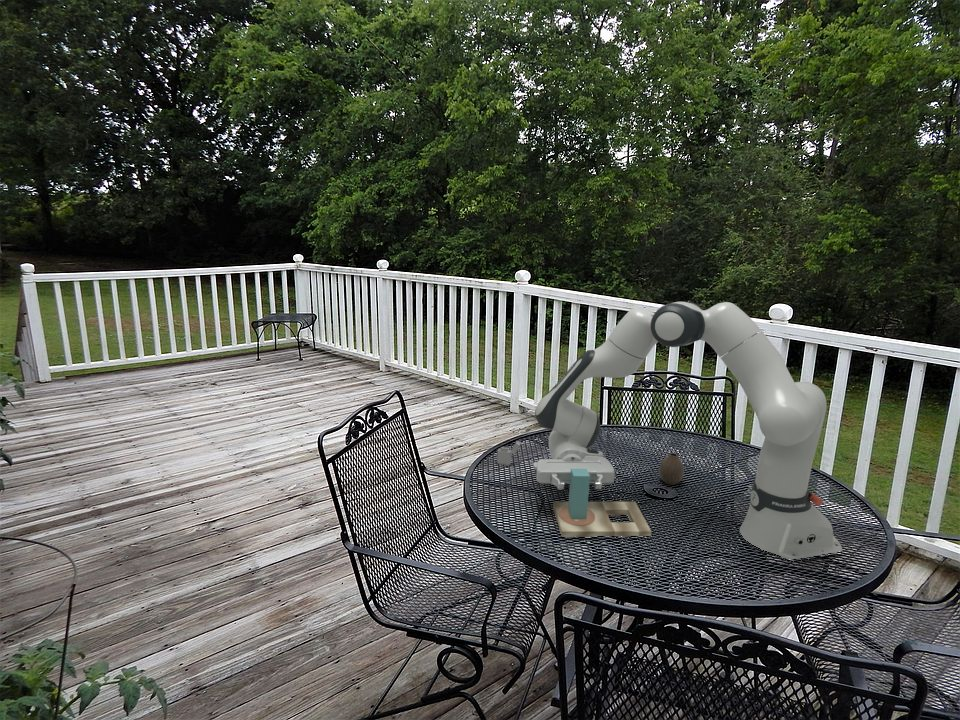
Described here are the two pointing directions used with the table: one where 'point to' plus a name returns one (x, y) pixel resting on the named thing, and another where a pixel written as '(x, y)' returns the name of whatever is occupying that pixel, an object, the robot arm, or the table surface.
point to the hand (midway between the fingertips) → (579, 486)
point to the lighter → (506, 454)
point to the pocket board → (605, 521)
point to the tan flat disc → (579, 522)
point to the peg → (578, 493)
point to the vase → (671, 469)
